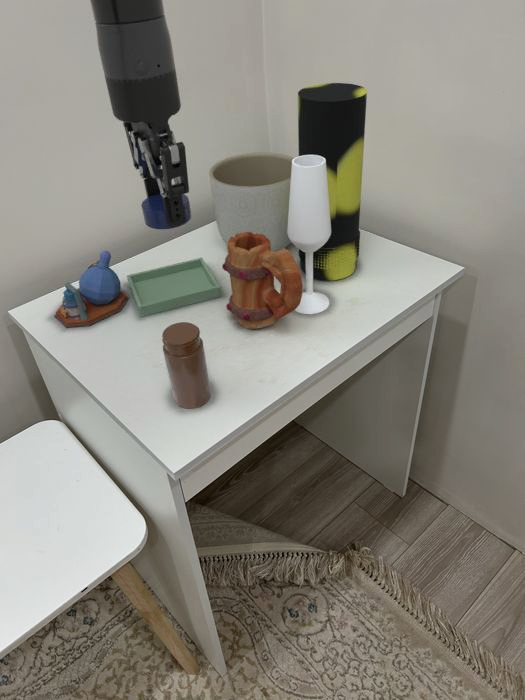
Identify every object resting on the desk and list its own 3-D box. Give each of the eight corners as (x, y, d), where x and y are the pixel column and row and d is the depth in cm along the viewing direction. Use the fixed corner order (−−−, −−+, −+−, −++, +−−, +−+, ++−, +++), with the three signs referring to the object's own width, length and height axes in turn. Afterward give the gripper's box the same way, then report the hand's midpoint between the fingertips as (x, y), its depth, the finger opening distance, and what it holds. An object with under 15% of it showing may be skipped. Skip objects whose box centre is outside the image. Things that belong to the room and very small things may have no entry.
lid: (185, 205, 72) (183, 188, 70) (196, 223, 67) (194, 205, 66) (141, 214, 70) (137, 197, 69) (149, 233, 66) (145, 215, 65)
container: (339, 288, 94) (345, 105, 75) (287, 271, 100) (281, 96, 81) (368, 261, 101) (381, 86, 82) (318, 247, 106) (320, 79, 87)
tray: (140, 317, 91) (138, 307, 90) (128, 284, 99) (126, 275, 98) (221, 296, 95) (220, 286, 93) (203, 266, 103) (201, 257, 102)
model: (109, 284, 100) (97, 238, 94) (136, 303, 94) (124, 256, 88) (48, 311, 94) (31, 264, 88) (73, 334, 88) (56, 286, 83)
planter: (269, 216, 118) (265, 145, 108) (321, 245, 107) (321, 168, 97) (202, 242, 110) (191, 168, 101) (250, 275, 99) (243, 196, 90)
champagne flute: (281, 300, 92) (275, 160, 77) (313, 287, 95) (313, 148, 80) (305, 319, 88) (303, 173, 73) (337, 304, 91) (342, 161, 75)
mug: (218, 318, 90) (207, 235, 80) (255, 298, 94) (249, 216, 84) (278, 358, 81) (274, 271, 71) (317, 334, 85) (317, 248, 75)
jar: (182, 414, 73) (168, 350, 66) (168, 391, 77) (153, 329, 70) (217, 399, 75) (207, 336, 68) (201, 378, 78) (191, 315, 71)
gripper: (199, 72, 54) (218, 227, 65) (149, 51, 64) (173, 188, 75) (127, 87, 52) (159, 245, 62) (86, 62, 62) (120, 203, 72)
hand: (167, 214), depth 68 cm, fingers closed on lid, 5 cm apart
